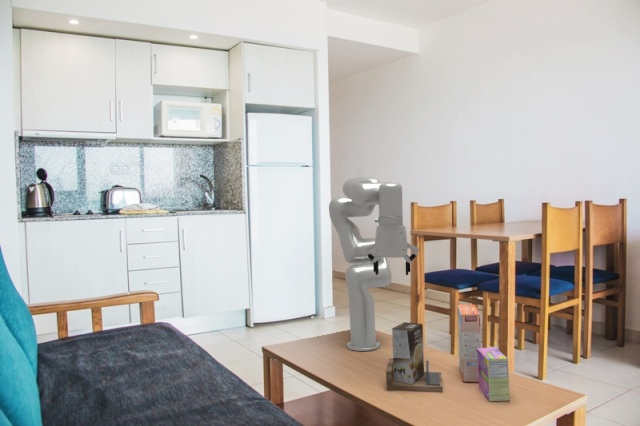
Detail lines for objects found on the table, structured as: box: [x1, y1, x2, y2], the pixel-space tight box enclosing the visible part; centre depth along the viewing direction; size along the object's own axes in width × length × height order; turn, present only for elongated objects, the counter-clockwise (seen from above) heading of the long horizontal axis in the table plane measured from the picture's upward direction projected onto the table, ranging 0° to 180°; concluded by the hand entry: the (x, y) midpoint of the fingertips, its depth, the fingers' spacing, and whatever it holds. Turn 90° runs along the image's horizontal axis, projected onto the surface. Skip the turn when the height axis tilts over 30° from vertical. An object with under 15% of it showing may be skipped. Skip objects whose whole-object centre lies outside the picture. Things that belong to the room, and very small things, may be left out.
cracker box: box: [457, 304, 482, 383], centre depth 158 cm, size 14×6×21 cm, turn 168°
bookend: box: [425, 360, 440, 386], centre depth 152 cm, size 10×4×4 cm, turn 168°
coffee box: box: [391, 321, 425, 384], centre depth 153 cm, size 9×6×16 cm
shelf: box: [385, 358, 444, 393], centre depth 153 cm, size 12×16×6 cm
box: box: [477, 347, 510, 402], centre depth 142 cm, size 10×6×12 cm, turn 178°
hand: (392, 274), depth 163 cm, fingers open, 9 cm apart
